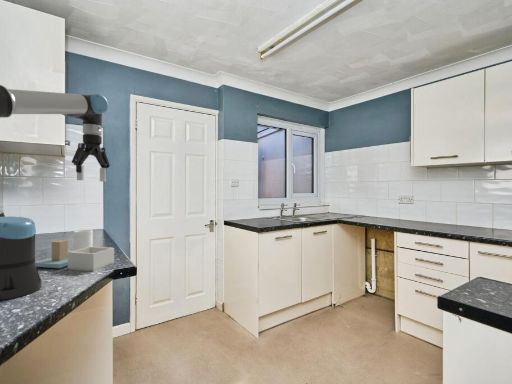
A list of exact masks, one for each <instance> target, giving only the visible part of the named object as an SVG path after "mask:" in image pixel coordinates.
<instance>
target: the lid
mask: <svg viewBox="0 0 512 384" xmlns="http://www.w3.org/2000/svg"><path fill="white" fill-rule="evenodd" d="M68 245H69V241H68V239H67V240H66V239H65V240H64V239H63V240H61V239H60V240H55V241H54V240H53V241H51V257H50V258H49V257H48V258H44V259H41V260H37V261H35V266H36V268H37V267H38V268H39V267H40V268H45V269H47V268H49V269H62V268H65V267H68V252H69V251H68V250H69V249H68V247H69V246H68Z"/></svg>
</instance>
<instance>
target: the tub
mask: <svg viewBox="0 0 512 384" xmlns="http://www.w3.org/2000/svg"><path fill="white" fill-rule="evenodd" d="M114 264H115V247H108V246H106V247H104V246H93V247H87V248H83V249H79V250H75V251H74V250H70V251H68V266H67V270H69V271H70V270H72V271H84V272H96V271H98V270H100V269H103V268H107V267H108V266H112V265H114Z"/></svg>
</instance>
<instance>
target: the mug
mask: <svg viewBox="0 0 512 384" xmlns="http://www.w3.org/2000/svg"><path fill="white" fill-rule="evenodd" d="M93 233H94V230H93V229H80V230H79V229H78V230H74V231H73V233H71V234H70V235H68V236H66V239H65V240H67V241H68V239H69V238H71V237H73V247H70V246H68V250H69V251H75V250H79V249H83V248H87V247H94V245H93V244H94V242H93V237H94V234H93Z"/></svg>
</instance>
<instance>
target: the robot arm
mask: <svg viewBox="0 0 512 384" xmlns="http://www.w3.org/2000/svg"><path fill="white" fill-rule="evenodd" d="M108 109H109V103H108V100H107V98H106V97H105V96H104V95H103V94H99V93H93V94H79V93H68V92H65V93H64V92H53V91H37V90H23V89H22V90H21V89H10V88H7V87H6V86H4V85H2V84H0V118H10V117H11V116H12V115H63V116H64V117H70V118H74V119H78V120H82V142H79V143H78V145H77V149H76V150H75V153H74V155H73V157H72V160H71V163H72V164H73V165H74V166H75V171H76V181H84V180H85V178H84V169H85V167H84V165H83V164H84V163H85V161H86V160H87V159H88V157H89V156H93V157H94V158H95V159H96V161H97V163H98V164H99V166H100V168H99V182H107V169H109V168H110V167H111V164H110V162H109V159H108V156H107V152H106V148H105V147H104V146H103V147H101V144H103V141H102V140H103V139H102V138H103V137H102V123H103V122H102V121H103V120H102V119H103V113H105V114H106V112H107V111H108ZM36 233H37V230H36V223H35V221H34V220H33V219H32V218H29V217H23V216H5V211H3V210H2V209H0V301H2V300H3V301H4V300H10V299H15V298H21V297H23V296H26V295H30V294H33V293H35V292H37V291H39V290H40V289H41V288H42V282H43V281H42V278H41V277H40V273H39V271H38V269H37V267H36V266H35V262H36Z"/></svg>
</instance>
